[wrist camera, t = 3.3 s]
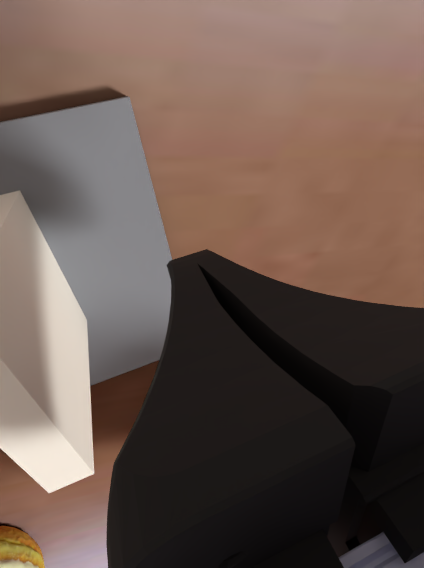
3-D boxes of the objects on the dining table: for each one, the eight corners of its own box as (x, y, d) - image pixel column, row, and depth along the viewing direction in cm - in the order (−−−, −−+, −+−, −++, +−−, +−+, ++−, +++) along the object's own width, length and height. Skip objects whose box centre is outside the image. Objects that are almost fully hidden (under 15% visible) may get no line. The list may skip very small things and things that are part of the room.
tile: (86, 320, 14) (94, 473, 9) (52, 331, 14) (37, 498, 8) (19, 190, 11) (-41, 309, 5) (-29, 201, 10) (-145, 340, 5)
